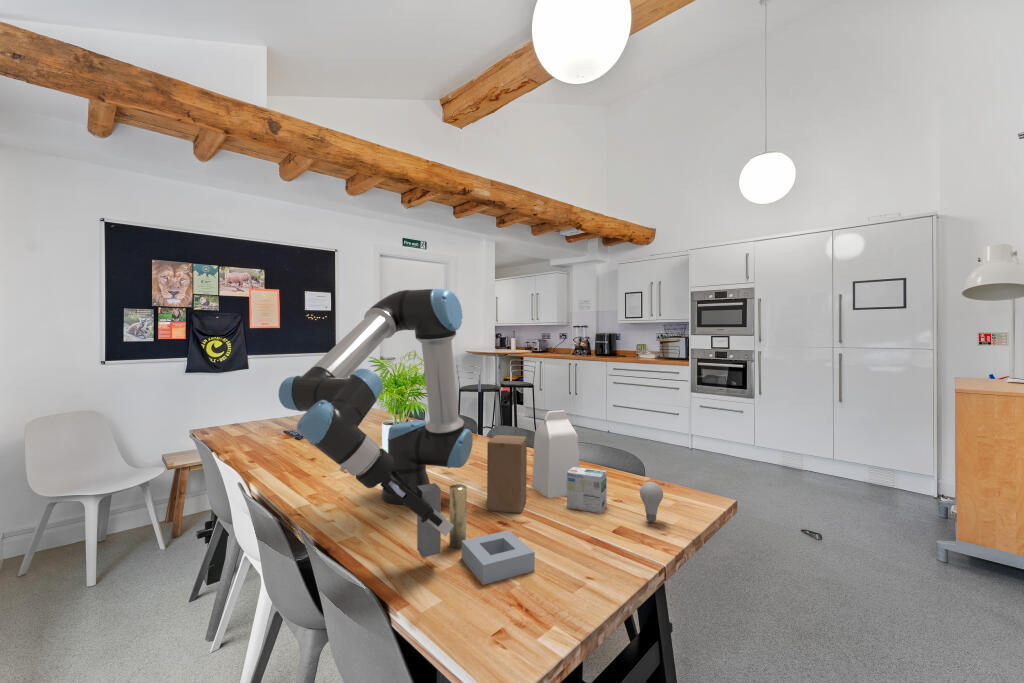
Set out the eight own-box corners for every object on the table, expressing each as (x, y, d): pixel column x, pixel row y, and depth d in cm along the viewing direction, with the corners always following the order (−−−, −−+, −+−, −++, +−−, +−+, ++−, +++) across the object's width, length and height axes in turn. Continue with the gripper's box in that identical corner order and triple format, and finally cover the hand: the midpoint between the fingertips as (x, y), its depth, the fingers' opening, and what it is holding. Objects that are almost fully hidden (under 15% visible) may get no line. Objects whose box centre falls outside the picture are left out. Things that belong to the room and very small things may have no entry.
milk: (548, 498, 136) (548, 415, 136) (531, 486, 147) (532, 409, 147) (580, 493, 141) (581, 412, 141) (562, 482, 152) (563, 407, 152)
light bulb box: (607, 506, 130) (607, 470, 130) (601, 514, 124) (602, 476, 124) (572, 500, 135) (572, 465, 135) (565, 508, 128) (566, 471, 128)
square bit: (422, 557, 92) (422, 491, 92) (417, 549, 95) (417, 485, 95) (440, 553, 94) (440, 488, 93) (434, 545, 97) (434, 483, 97)
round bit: (445, 546, 104) (446, 487, 104) (457, 540, 107) (458, 483, 107) (457, 551, 102) (458, 491, 102) (469, 544, 105) (470, 486, 105)
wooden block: (520, 513, 124) (521, 443, 124) (486, 510, 126) (487, 441, 126) (526, 501, 134) (527, 436, 133) (494, 498, 136) (495, 434, 135)
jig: (483, 584, 88) (483, 565, 88) (461, 558, 98) (461, 540, 98) (534, 570, 93) (534, 552, 93) (508, 546, 104) (508, 530, 104)
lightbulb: (651, 528, 114) (651, 487, 114) (634, 520, 120) (634, 480, 120) (667, 524, 117) (668, 483, 117) (651, 516, 123) (651, 477, 123)
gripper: (348, 465, 95) (422, 525, 103) (360, 490, 80) (447, 558, 88) (373, 438, 97) (444, 499, 105) (390, 458, 82) (471, 527, 90)
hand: (445, 526), depth 96 cm, fingers closed on square bit, 4 cm apart
